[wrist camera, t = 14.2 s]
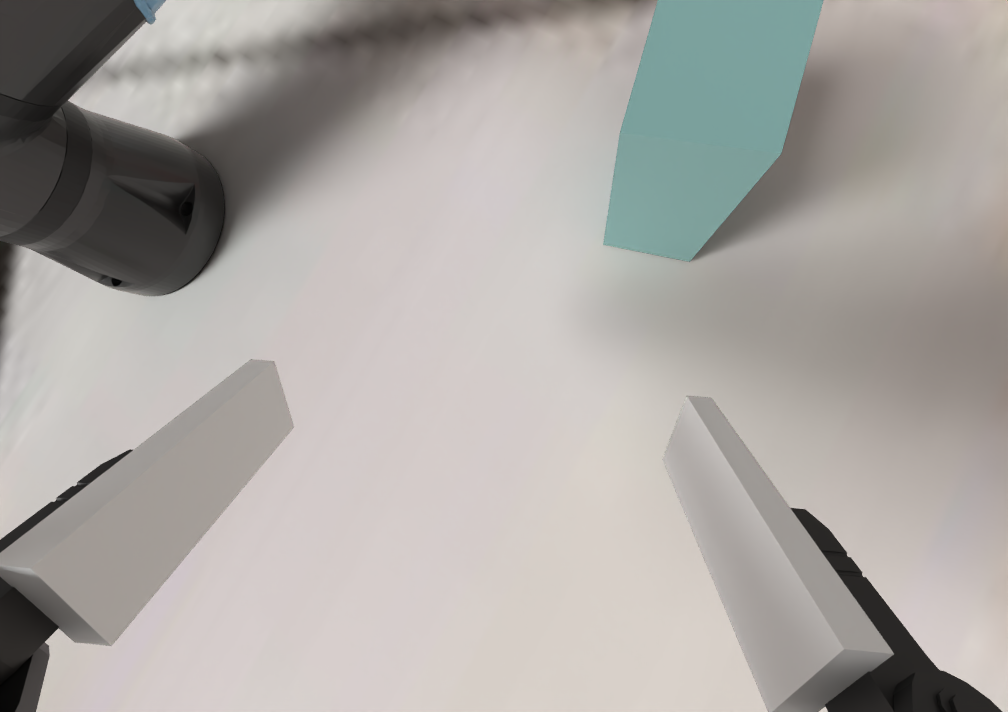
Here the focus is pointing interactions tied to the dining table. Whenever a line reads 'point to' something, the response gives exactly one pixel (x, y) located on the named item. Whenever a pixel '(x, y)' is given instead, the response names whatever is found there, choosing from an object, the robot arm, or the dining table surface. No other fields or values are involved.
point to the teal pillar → (705, 117)
